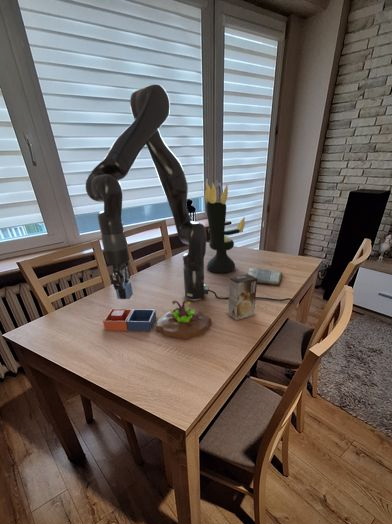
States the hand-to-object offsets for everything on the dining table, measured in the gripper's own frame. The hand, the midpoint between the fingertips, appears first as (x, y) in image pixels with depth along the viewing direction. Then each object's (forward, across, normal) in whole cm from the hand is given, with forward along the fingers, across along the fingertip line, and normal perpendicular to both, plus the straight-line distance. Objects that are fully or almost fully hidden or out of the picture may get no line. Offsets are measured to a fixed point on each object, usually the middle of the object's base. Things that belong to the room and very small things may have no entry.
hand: (125, 295), depth 99 cm
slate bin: (+15, +5, -3) cm, 16 cm away
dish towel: (+16, +57, -58) cm, 83 cm away
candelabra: (+16, +70, -34) cm, 80 cm away
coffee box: (+16, +14, -43) cm, 48 cm away
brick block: (+14, +5, +6) cm, 16 cm away
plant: (+15, +4, -20) cm, 25 cm away
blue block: (0, 0, 0) cm, 0 cm away
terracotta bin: (+15, +5, +6) cm, 17 cm away
